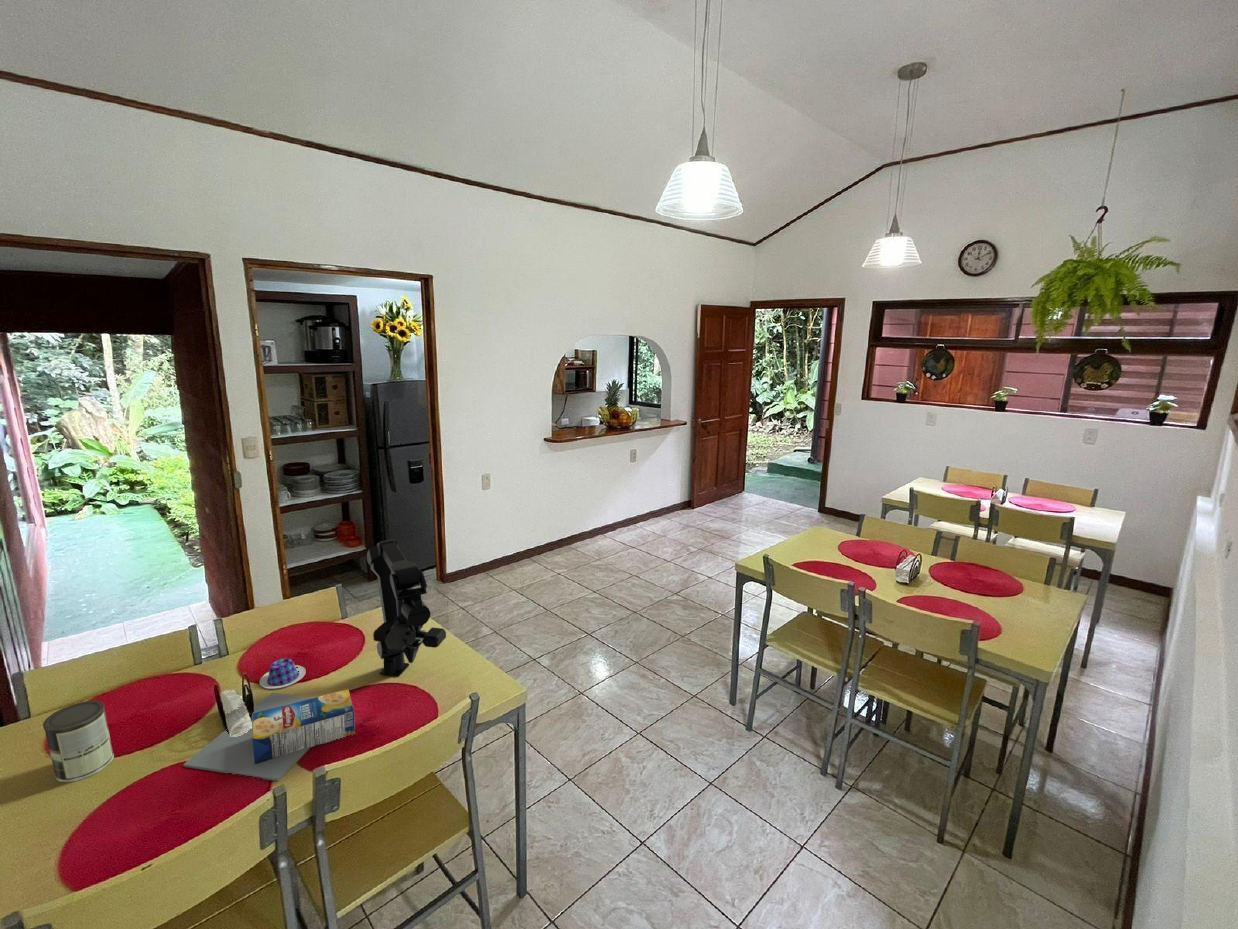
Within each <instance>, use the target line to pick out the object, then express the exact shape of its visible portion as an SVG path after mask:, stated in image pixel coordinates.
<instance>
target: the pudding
mask: <svg viewBox="0 0 1238 929" xmlns="http://www.w3.org/2000/svg"><path fill="white" fill-rule="evenodd" d="M296 667H298V668H296ZM298 671H299V672H298ZM306 672H307V671H306V668H305V667H303V666H301V665H298V664H296V665H295V663H294V661H293V660H292V659H291V658H281V659H278V660H275V661H274V662H272V663H271V664H270V667H269V671H268V672H266V673H265V674H264V675H263V676H261V678H260V679H259V685H260V686H261V687H263V688H264V689H268V690H269V689H281V688H285V687H288V686H290V685H293V684H295V683H297V682H298V681H300V680H301V679H303V678H304V676H305V675H306Z"/></svg>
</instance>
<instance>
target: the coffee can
mask: <svg viewBox="0 0 1238 929" xmlns="http://www.w3.org/2000/svg"><path fill="white" fill-rule="evenodd" d="M42 727H43V731H44V733H45V737H46V740H47V745H48V749H49V753H50V759H51V761H52V765H53V767H52V768H53V771H54V776H55V780H56V781H57V782H60V783H74V782H77V781H78V782H79V781H81V780H84V779H87V778H89V777H92V776H93V775H96V774H98V773H100V772H101V771H102V770H104V769H105V768H107V767H108V766H109V765H110V764H111V763H112V761H113V760H114V758H115V753H114V751H113V746H112V740H111V736H110V730H109V726H108V721H107V717H106V711H105V704H104V703H103V702H102V701H101V700H84V701H81V702H77V703H73V704H70V705H67V706H65V707H63V708H61V709H59V710H57V711H55V712H53V713H52V714H51V715H49V716H48V717H47V718H45V720H44V721H43V723H42Z"/></svg>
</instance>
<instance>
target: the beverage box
mask: <svg viewBox="0 0 1238 929" xmlns="http://www.w3.org/2000/svg"><path fill="white" fill-rule="evenodd" d="M310 698H311V699H307V700H304V701H300V702H296V703H292V704H288V705H284V706H280V707H276V708H272V709H268V710H264V711H260V712H256V713H252V739H253V751H254V762H255V764H257V763H261V762H264V761H267V760H270V759H273V758H276V757H279V756H283V755H286V754H289V753H292V752H295V751H298V750H301V749H304V748H307V747H309V748H310V749H311V748H314V747H318V746H321V745H324V744H327V743H332V742H334V741H333V740H335V741H337V740H336V739H338V740H341V739H340V738H342V739H344V738H343V737H345V738H347V737H346V736H349V737H351V736H350V735H352V736H354V735H353V734H355V735H356V726H355V725H356V723H355V710H354V709H355V708H354V706H353V702H352V699H351V694H350V691H349V688H348V689H344V690H343V689H342V690H340V691H336V692H331V693H327V694H324V695H323V694H322V695H320V696H316V697H310ZM331 741H332V742H331Z"/></svg>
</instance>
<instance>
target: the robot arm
mask: <svg viewBox="0 0 1238 929" xmlns="http://www.w3.org/2000/svg"><path fill="white" fill-rule="evenodd" d="M366 561H367V563H368V565H369V566H370V570H371V571H372V572H373V573H374V574H375V575H376V576H377V583H378V588H379V589H378V591H379V596H380V597H379V598H380V605H381V611H382V619H383V623H381V625H379V627H377V628H376V629H375V630H374V631H373V633H372V637H373V641H374V642H378V643H377V644H376V650H377V652H376V653H377V654H378V656H379V658H380V659H381V660H383V668H382V669H381V671H379V674H380V675H384V676H390V677H391V676H392V677H393V676H394V677H400V676H402V674H403V673H404V672H405V671H406V669H407V668H409V666H410V664H413V663H414V661H415V659H416V656H417V654H418V652H419V649H420V647H421V645H422V644H423V646H425V647H427V648H434V649H436V648H438V647H439V646H440V645H441V644H442V643H443V641H444V640H445V639H446V638H447V631H446V630H445V628H441V627H431V628H430V629H429V630H428V631H427V630H425V629H422V628H423V627H424V625H426V624H427V623H428V622H429V620H430V618H431V610H430V609H429V608H428V606H427V604H426V603H425V602H424V601H423V600H422V595H426V594H427V587H428V585H427V581H426V578H425V575H424V571H422V568H419V566H418V565H417V564H416V563H415V562H413V561H410V560H407V559H406V557H405V556H404V554H403V553H402V551H401V549H400V548H399V544H398V541H397V540H396V539H387V540H382V541H379V542H377V544H376V545H374V546H372V547H371V548H368V550H367V553H366ZM419 586H420V587H419ZM416 587H417V588H416ZM405 657H406V660H407V661H408V662H406V661H405Z"/></svg>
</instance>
